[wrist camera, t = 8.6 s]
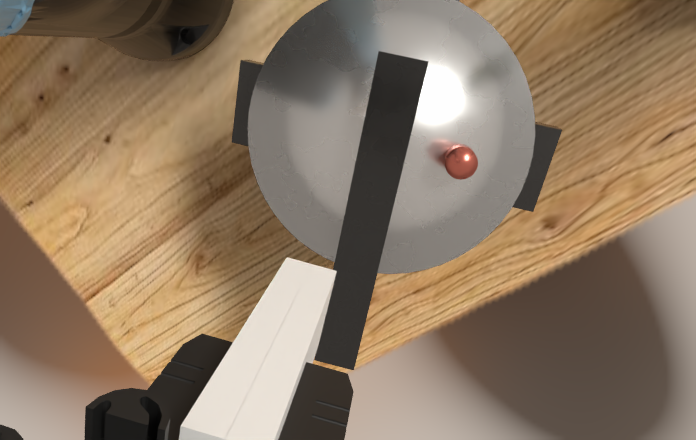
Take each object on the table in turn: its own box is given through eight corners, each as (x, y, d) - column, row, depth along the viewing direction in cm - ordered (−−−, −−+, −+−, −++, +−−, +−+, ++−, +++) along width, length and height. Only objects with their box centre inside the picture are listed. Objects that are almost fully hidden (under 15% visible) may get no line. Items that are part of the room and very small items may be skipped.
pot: (265, 181, 48) (217, 220, 37) (297, -51, 41) (250, -89, 30) (489, 234, 47) (510, 291, 36) (564, 2, 39) (621, -18, 28)
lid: (227, 312, 39) (211, 333, 36) (274, -39, 31) (258, -51, 28) (457, 371, 38) (461, 398, 35) (573, 21, 29) (590, 16, 26)
